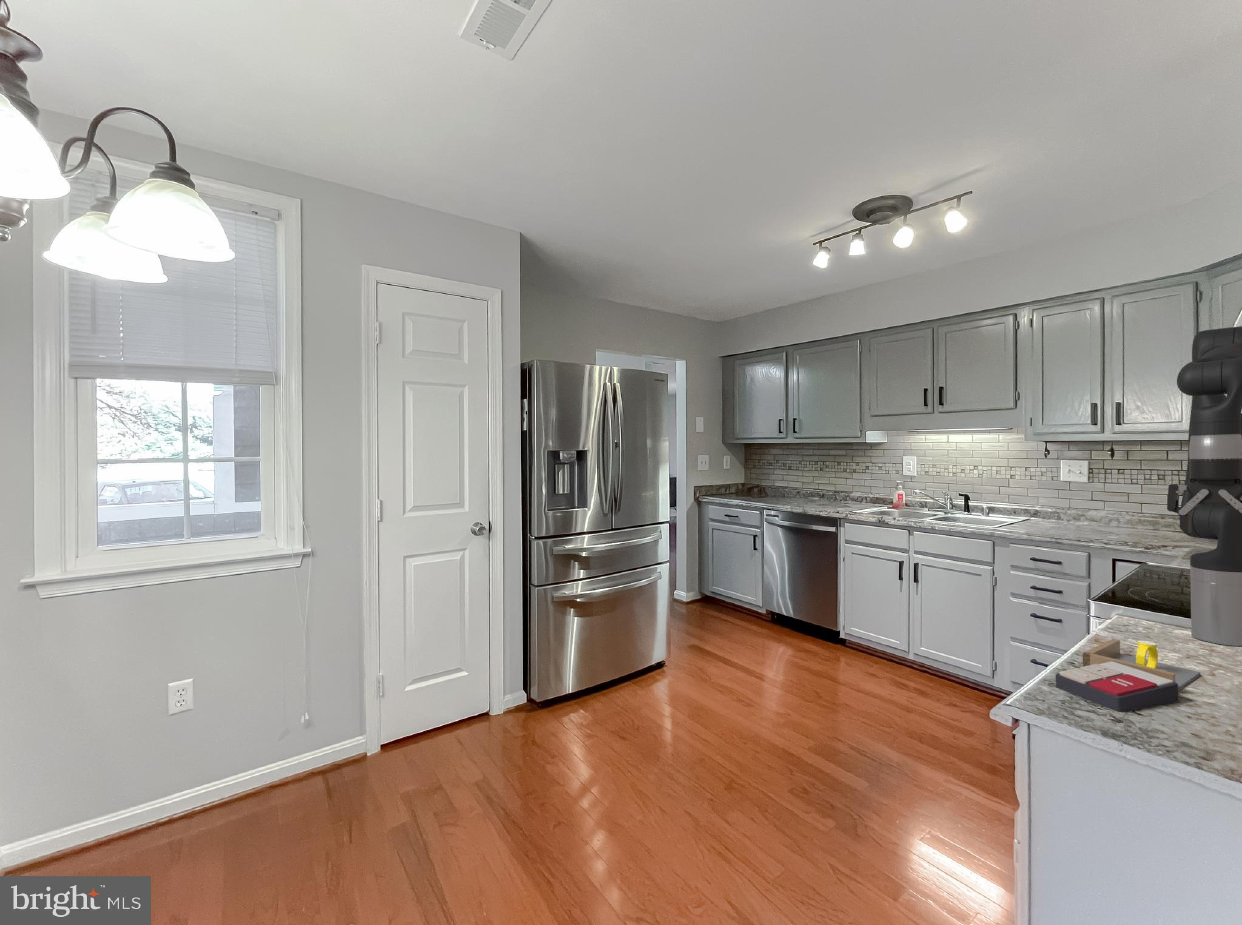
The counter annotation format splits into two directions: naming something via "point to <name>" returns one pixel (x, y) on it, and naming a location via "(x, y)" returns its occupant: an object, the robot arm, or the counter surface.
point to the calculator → (1118, 686)
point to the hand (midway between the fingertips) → (1217, 534)
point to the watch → (1142, 652)
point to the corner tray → (1112, 654)
